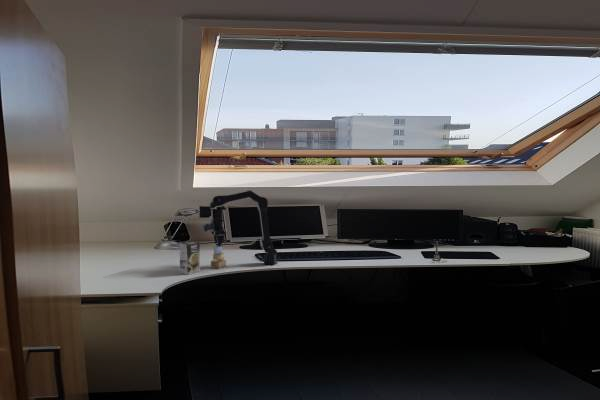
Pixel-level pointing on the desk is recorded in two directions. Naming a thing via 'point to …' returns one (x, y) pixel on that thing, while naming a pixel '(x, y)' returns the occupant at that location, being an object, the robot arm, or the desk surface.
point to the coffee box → (189, 257)
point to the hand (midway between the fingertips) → (217, 245)
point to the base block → (218, 264)
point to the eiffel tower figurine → (437, 257)
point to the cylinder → (217, 250)
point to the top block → (218, 257)
